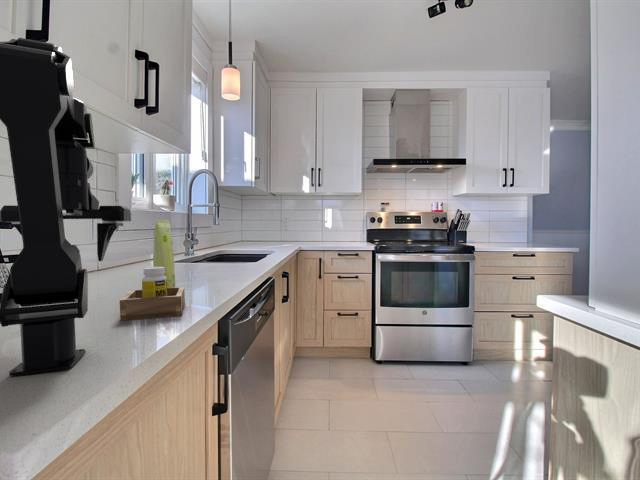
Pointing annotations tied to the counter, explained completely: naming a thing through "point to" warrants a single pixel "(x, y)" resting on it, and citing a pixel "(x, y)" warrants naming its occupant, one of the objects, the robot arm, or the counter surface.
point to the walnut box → (152, 305)
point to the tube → (164, 250)
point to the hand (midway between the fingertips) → (72, 262)
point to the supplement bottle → (154, 282)
